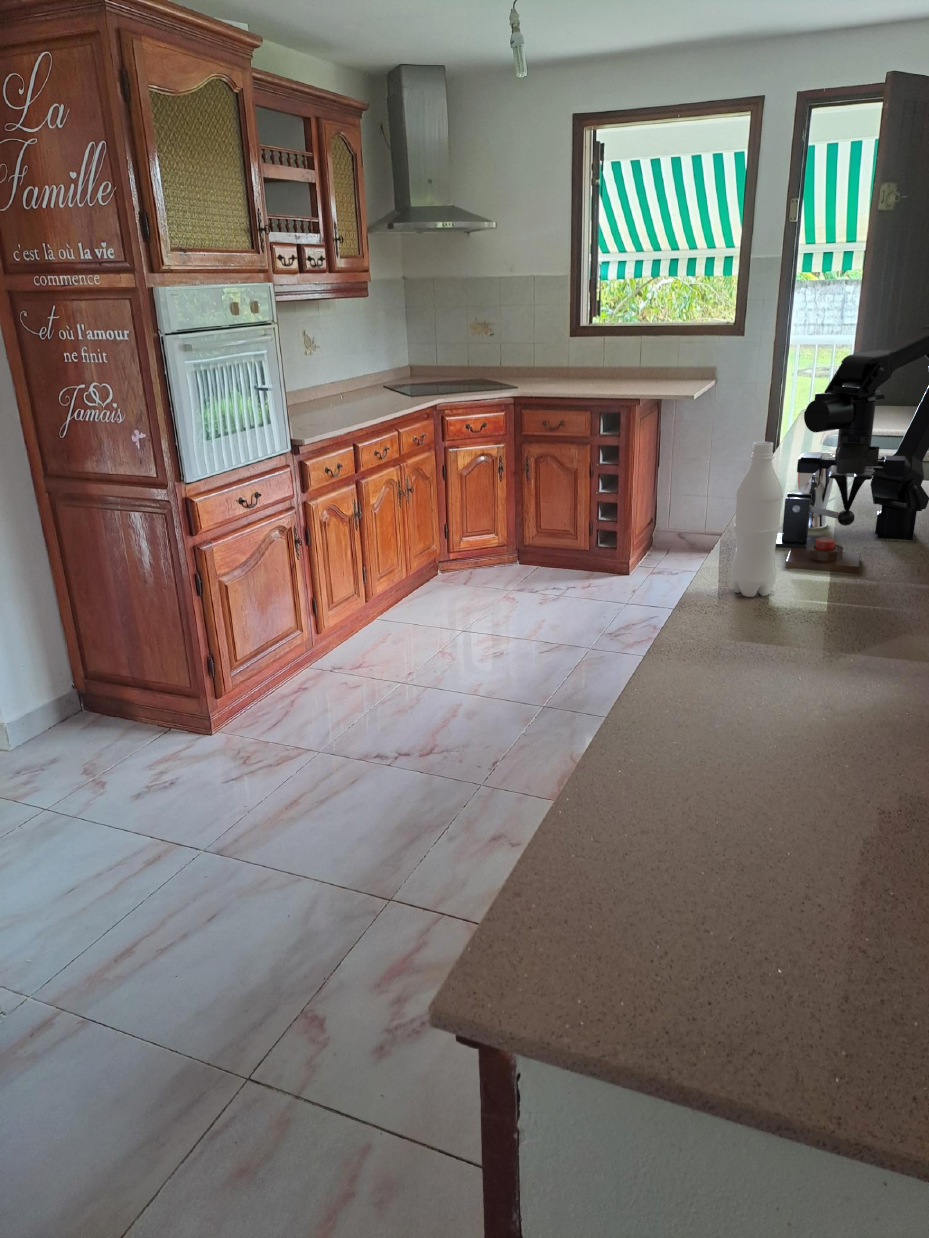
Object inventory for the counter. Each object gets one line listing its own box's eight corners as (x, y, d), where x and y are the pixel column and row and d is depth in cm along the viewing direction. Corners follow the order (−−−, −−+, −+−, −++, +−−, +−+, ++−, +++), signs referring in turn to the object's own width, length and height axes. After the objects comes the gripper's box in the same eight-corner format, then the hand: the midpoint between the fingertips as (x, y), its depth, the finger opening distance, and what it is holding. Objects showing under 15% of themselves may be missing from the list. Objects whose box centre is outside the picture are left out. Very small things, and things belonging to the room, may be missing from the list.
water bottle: (776, 600, 144) (790, 447, 135) (731, 598, 145) (741, 447, 137) (771, 586, 150) (784, 439, 142) (728, 585, 152) (737, 439, 143)
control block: (859, 561, 161) (861, 543, 160) (858, 576, 153) (860, 556, 152) (790, 556, 166) (791, 538, 165) (785, 570, 158) (787, 551, 157)
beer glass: (823, 522, 187) (830, 451, 182) (832, 530, 181) (840, 458, 176) (789, 522, 188) (795, 452, 183) (797, 531, 182) (804, 458, 176)
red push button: (834, 547, 159) (835, 538, 159) (833, 552, 157) (834, 542, 156) (815, 546, 161) (816, 537, 160) (814, 551, 158) (815, 541, 157)
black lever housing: (825, 541, 174) (830, 492, 170) (822, 552, 167) (828, 502, 164) (767, 537, 178) (771, 490, 175) (762, 548, 171) (766, 499, 168)
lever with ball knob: (851, 525, 168) (857, 510, 167) (851, 529, 166) (856, 514, 165) (788, 508, 172) (793, 494, 171) (787, 512, 170) (792, 497, 168)
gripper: (797, 432, 158) (790, 517, 163) (913, 434, 150) (902, 523, 156) (803, 423, 167) (796, 503, 173) (912, 425, 160) (901, 508, 165)
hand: (846, 510), depth 166 cm, fingers closed
